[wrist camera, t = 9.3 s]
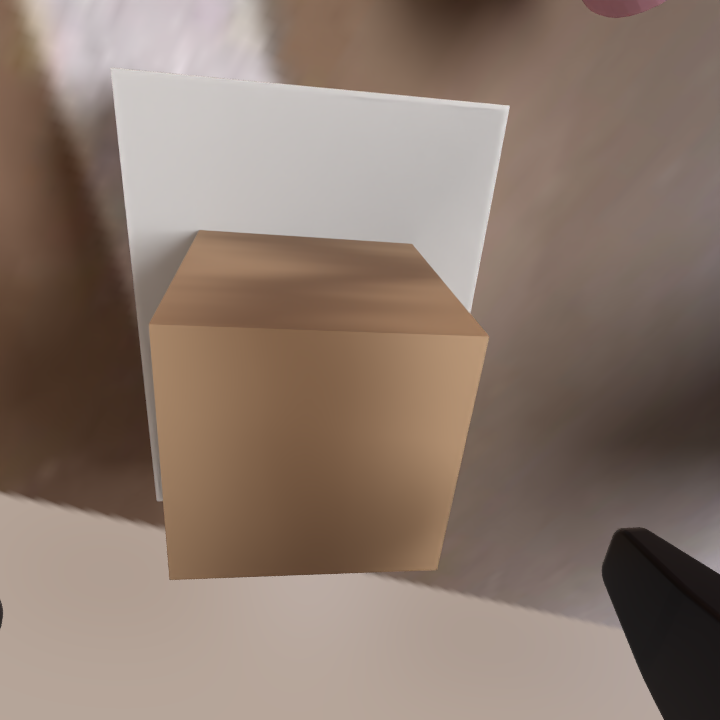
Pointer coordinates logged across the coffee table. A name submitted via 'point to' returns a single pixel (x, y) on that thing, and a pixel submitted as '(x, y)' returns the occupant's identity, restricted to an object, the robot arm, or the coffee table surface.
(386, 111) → the white rectangular box
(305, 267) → the walnut block
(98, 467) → the coffee table surface
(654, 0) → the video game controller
